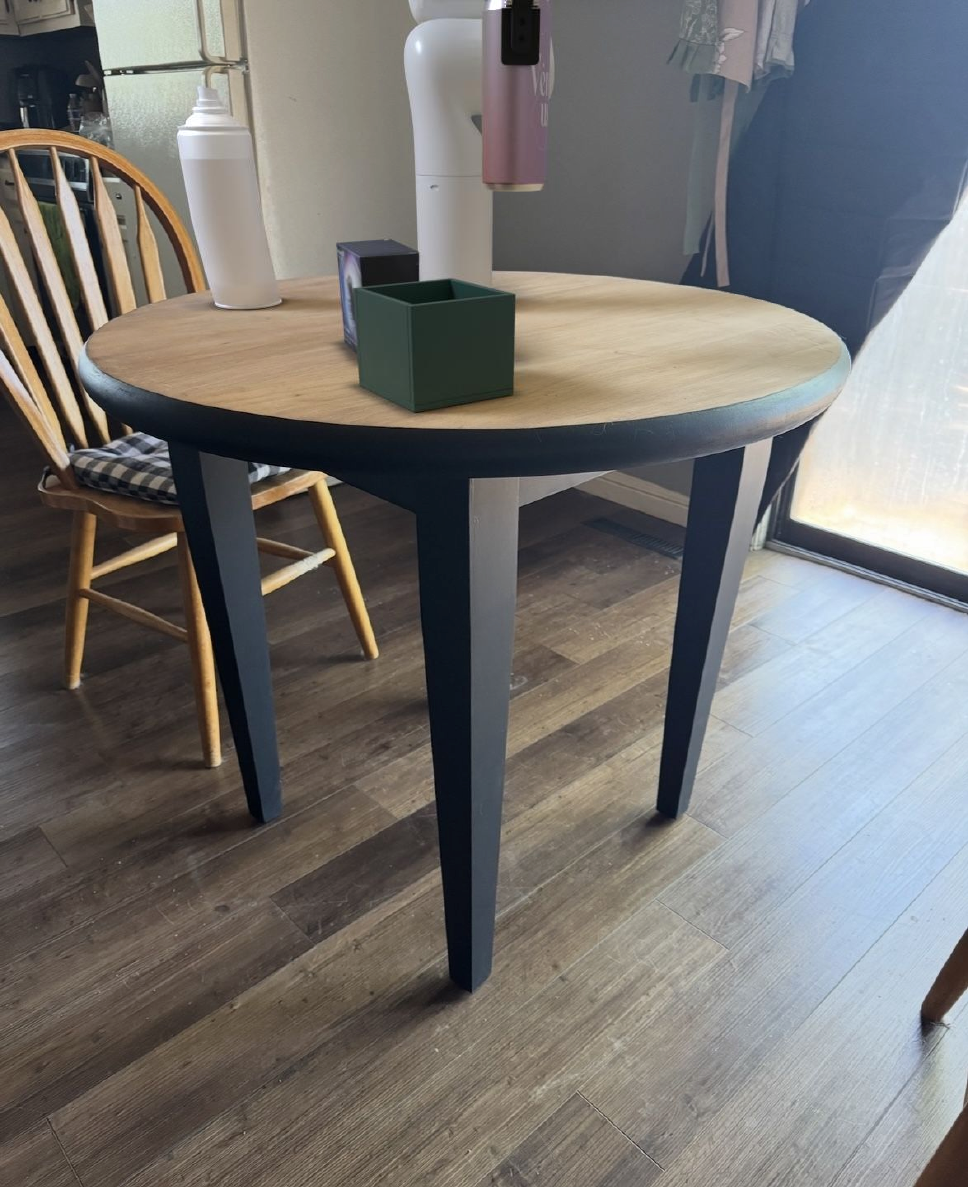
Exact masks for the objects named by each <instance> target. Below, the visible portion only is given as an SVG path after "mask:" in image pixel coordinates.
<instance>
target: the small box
mask: <svg viewBox="0 0 968 1187" xmlns="http://www.w3.org/2000/svg"><path fill="white" fill-rule="evenodd" d="M335 246H336V258H337V268H338V269H337V270H338V280H339V290H340V291H339V295H340V304H341V317H342V327H343V337H344V338H343V339H344V343H345V344H346V345H347V346H348V347H349V348H350V349H351V350H352V351H353V352H354V353H355V354H356V355H357V341H356V325H355V310H354V294H353V288H357V287H367V286H377V285H387V284H397V283H407V282H417V281H419V280H420V279H419V261H420V260H419V259H420V257H419V252H418V250H416V249H415V248H412V247H409V246H408V245H405V244H404V243H401V242H398V241H396V240H394V239H392V238H383V239H382V238H381V239H371V240H355V241H343V242H336V243H335Z"/></svg>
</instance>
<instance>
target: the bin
mask: <svg viewBox="0 0 968 1187" xmlns="http://www.w3.org/2000/svg"><path fill="white" fill-rule="evenodd" d="M353 294H354V310H355V325H356V341H357V354H356V356H357V369H358V370H357V372H358V383H359V384H358V385H359V386H360V387H362V388H364V389H366V390H368V391H370V392H372V393H374V394H376V395H378V396H380V397H382V398H384V399H386V400H388V401H390V402H392V403H393V404H396V405H398V406H400V407H402V408H405V409H406V410H409V411H410V412H412V413H420V412H424V411H425V412H426V411H430V410H431V411H432V410H436V409H442V408H446V407H452V406H458V405H462V404H469V403H474V402H480V401H485V400H491V399H496V398H501V397H507V396H512V395H514V394H515V393H514V391H515V390H514V389H515V382H514V381H515V346H516V345H515V344H516V342H515V341H516V340H515V339H516V293H513V292H509V291H506V290H505V291H504V290H501V289H497V288H493V287H492V288H489V287H485V286H481V285H477V284H473V283H469V282H465V281H461V280H457V279H454V278H447V279H437V280H427V281H417V282H407V283H397V284H387V285H377V286H367V287H357V288H353Z"/></svg>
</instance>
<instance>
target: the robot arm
mask: <svg viewBox="0 0 968 1187" xmlns="http://www.w3.org/2000/svg"><path fill="white" fill-rule="evenodd" d="M407 2H408V5H409V9H410V10H409V11H410V12H411V15H412V17H413V19H414V20H415V22H416V23H417V26H415V27H414V28H413V29H412V30H411V31H410V32H409V34H408V36H407V38H406V39H405V40H406V41H405V43H404V49H403V67H404V76H405V82H406V87H407V94H408V99H409V107H410V113H411V121H412V131H413V147H414V173H415V174H414V175H415V203H416V204H415V206H416V236H417V251H418V252H419V257H420V259H419V260H420V261H419V279H420V280H419V281H427V280H437V279H447V278H454V279H457V280H461V281H465V282H469V283H473V284H477V285H481V286H485V287H489V288H493V226H494V225H493V224H494V222H493V220H494V218H493V217H494V216H493V214H494V213H493V210H494V191H489V190H486V188H485V187H484V185H483V183H482V132H480V130H479V129H478V128H477V126H476V124H475V123H474V121H473V119H472V118H473V117H474V116H482V10H483V7H484V3H485V1H484V0H407ZM505 7H511V8H501V62H502V64H503V65H536V64H538V62H539V49H540V11H541V8H538V7H539V0H505ZM554 84H555V55H554V46H553V40H552V39H551V41H550V74H549V100H550V99H551V97H552V93H553V91H554V86H555V85H554Z"/></svg>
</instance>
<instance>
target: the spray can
mask: <svg viewBox="0 0 968 1187" xmlns="http://www.w3.org/2000/svg"><path fill="white" fill-rule="evenodd" d="M197 95H198V99H195V100H196V101H195V103H196V106H193V107H192V108H191V111H192V114H191V115H189V116H188V117H187V118H186V120H185V124H183V125H177V126H176V128H177V129H178V132H177V133H176V139H177V147H178V154H179V160H180V164H181V165H180V166H181V171H182V176H183V181H184V188H185V194H186V197H187V202H188V210H189V214H190V219H191V220H190V221H191V224H192V227H193V231H194V235H195V239H196V242H197V246H198V250H199V254H200V258H201V262H202V265H203V269H204V272H205V273H204V274H205V276H206V280H207V283H208V286H209V289H210V293H211V296H212V298H213V301H214V305H215V307H218V308H220V309H227V310H256V309H264V308H271V307H275V306H278V305H281V304H282V302H283V300H282V298H281V294H280V290H279V284H278V281H277V277H276V274H275V268H274V263H273V258H272V253H271V250H270V246H269V241H268V235H267V231H266V226H265V221H264V217H263V216H264V215H263V209H262V203H261V196H260V190H259V182H258V176H257V168H256V163H255V156H254V147H253V145H254V144H253V138H252V134H251V133H250V131H249V129H250V126H249V125H241V124H240V123H239V122H238V121H237V119H236V118H234V116H232V115H230V114H229V108H228V107H227V106H223V100H222V99H219V92H218V89H216V88H212V87H208V86H204V85H199V84H197Z"/></svg>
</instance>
